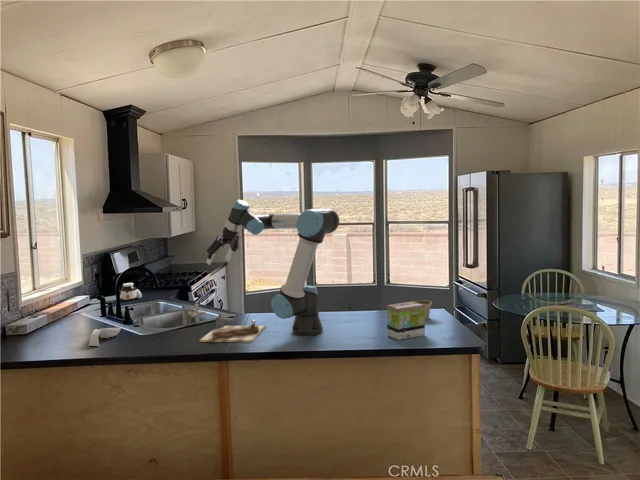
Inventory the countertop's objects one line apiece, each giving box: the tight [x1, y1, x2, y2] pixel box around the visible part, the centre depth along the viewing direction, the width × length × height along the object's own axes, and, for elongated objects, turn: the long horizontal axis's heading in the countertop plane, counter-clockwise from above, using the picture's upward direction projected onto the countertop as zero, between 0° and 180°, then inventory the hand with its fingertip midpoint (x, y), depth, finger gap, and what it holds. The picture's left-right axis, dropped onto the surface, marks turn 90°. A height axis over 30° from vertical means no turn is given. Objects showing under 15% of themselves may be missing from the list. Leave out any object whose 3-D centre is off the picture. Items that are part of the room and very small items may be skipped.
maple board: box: [199, 325, 267, 343], centre depth 235 cm, size 26×25×1 cm
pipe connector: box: [187, 304, 207, 324], centre depth 262 cm, size 10×10×10 cm
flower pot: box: [414, 300, 433, 320], centre depth 252 cm, size 9×9×9 cm
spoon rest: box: [88, 327, 121, 347], centre depth 235 cm, size 24×12×7 cm, turn 4°
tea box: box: [386, 301, 426, 341], centre depth 221 cm, size 15×10×15 cm
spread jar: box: [120, 282, 143, 302], centre depth 336 cm, size 12×11×12 cm
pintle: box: [251, 319, 256, 326], centre depth 233 cm, size 2×2×3 cm
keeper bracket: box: [215, 316, 236, 328], centre depth 245 cm, size 11×3×5 cm, turn 56°
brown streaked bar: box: [212, 324, 259, 339], centre depth 230 cm, size 22×5×3 cm, turn 114°
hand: (217, 261), depth 249 cm, fingers open, 13 cm apart
